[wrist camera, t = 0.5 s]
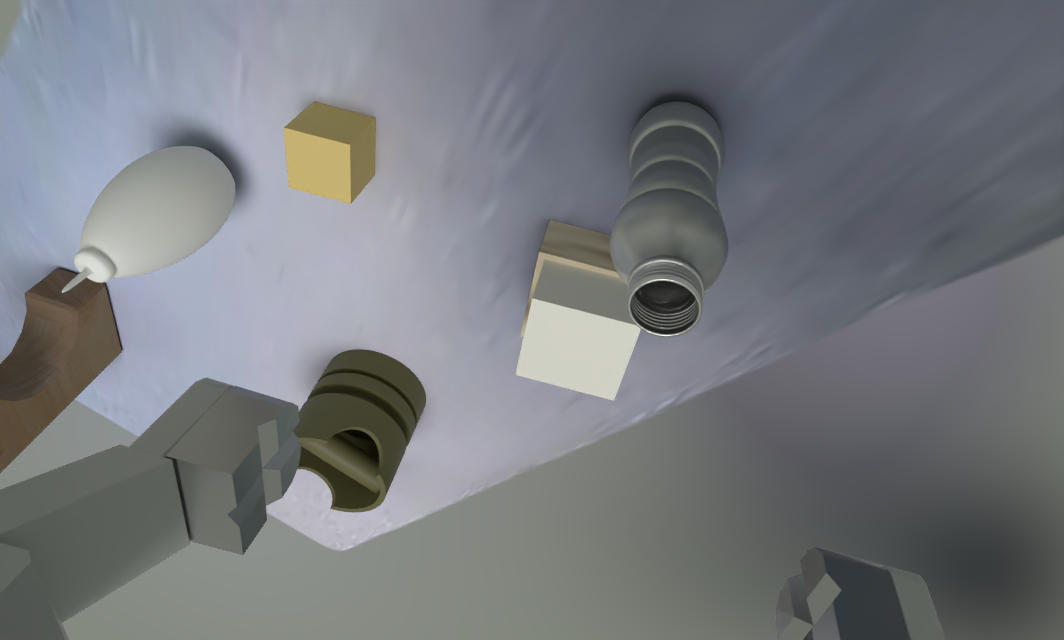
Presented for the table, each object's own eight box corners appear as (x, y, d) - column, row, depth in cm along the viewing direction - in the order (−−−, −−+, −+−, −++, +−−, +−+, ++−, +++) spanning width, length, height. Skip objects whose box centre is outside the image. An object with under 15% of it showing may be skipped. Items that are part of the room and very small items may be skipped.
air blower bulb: (275, 187, 57) (141, 317, 43) (220, 220, 60) (81, 349, 47) (208, 109, 53) (38, 224, 39) (153, 149, 56) (-19, 267, 43)
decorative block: (57, 264, 69) (-124, 402, 54) (109, 282, 69) (-57, 424, 54) (77, 336, 76) (-77, 475, 61) (124, 352, 76) (-18, 494, 61)
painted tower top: (544, 258, 50) (532, 298, 46) (646, 285, 50) (641, 326, 46) (528, 333, 55) (515, 374, 51) (619, 357, 55) (613, 400, 51)
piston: (349, 524, 67) (254, 467, 64) (391, 435, 76) (309, 381, 73) (407, 487, 61) (305, 420, 57) (445, 394, 70) (359, 332, 66)
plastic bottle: (662, 193, 50) (646, 376, 35) (612, 123, 47) (570, 288, 32) (741, 150, 46) (760, 330, 31) (691, 71, 44) (686, 228, 29)
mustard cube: (314, 101, 51) (283, 127, 47) (376, 117, 50) (350, 144, 47) (317, 158, 54) (288, 187, 50) (375, 173, 54) (350, 203, 50)
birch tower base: (550, 218, 53) (539, 251, 50) (657, 245, 53) (653, 281, 49) (531, 300, 59) (520, 336, 56) (627, 325, 59) (622, 363, 55)
